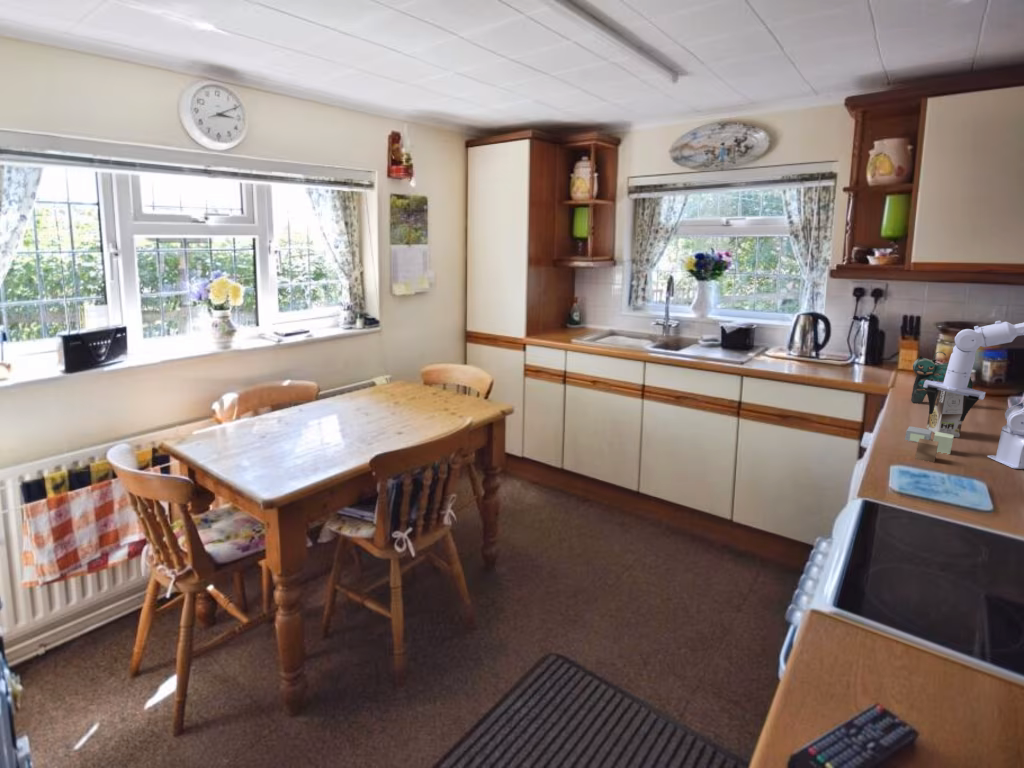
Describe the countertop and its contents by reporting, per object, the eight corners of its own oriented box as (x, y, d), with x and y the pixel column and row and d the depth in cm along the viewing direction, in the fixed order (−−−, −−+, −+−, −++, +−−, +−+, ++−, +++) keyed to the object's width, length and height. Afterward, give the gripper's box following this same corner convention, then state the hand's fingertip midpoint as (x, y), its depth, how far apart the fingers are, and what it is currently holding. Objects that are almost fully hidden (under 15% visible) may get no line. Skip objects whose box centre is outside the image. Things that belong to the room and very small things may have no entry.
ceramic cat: (909, 403, 239) (918, 351, 234) (904, 399, 245) (913, 348, 240) (970, 408, 233) (981, 355, 229) (964, 404, 239) (974, 352, 235)
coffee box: (960, 437, 198) (970, 387, 195) (937, 436, 200) (946, 386, 196) (947, 429, 207) (956, 381, 203) (925, 427, 208) (934, 379, 205)
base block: (930, 441, 195) (932, 430, 195) (927, 445, 191) (929, 434, 190) (907, 436, 199) (909, 426, 198) (904, 441, 194) (906, 430, 194)
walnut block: (935, 458, 179) (938, 441, 178) (934, 462, 176) (937, 445, 174) (916, 455, 182) (919, 438, 181) (915, 459, 178) (918, 442, 177)
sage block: (950, 450, 186) (953, 434, 185) (949, 454, 182) (953, 438, 181) (932, 447, 189) (935, 431, 187) (931, 451, 185) (934, 435, 184)
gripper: (926, 367, 182) (914, 412, 186) (987, 379, 173) (973, 426, 176) (931, 364, 187) (919, 408, 191) (991, 376, 178) (977, 421, 181)
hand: (946, 416), depth 184 cm, fingers open, 7 cm apart
